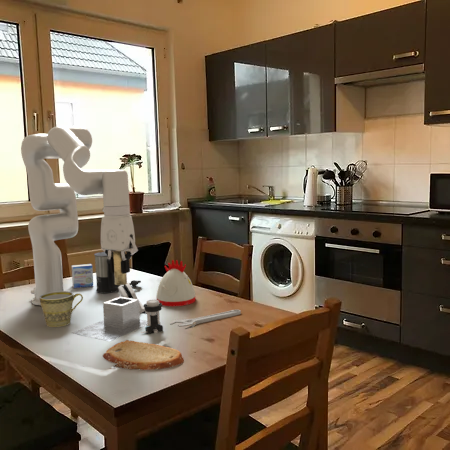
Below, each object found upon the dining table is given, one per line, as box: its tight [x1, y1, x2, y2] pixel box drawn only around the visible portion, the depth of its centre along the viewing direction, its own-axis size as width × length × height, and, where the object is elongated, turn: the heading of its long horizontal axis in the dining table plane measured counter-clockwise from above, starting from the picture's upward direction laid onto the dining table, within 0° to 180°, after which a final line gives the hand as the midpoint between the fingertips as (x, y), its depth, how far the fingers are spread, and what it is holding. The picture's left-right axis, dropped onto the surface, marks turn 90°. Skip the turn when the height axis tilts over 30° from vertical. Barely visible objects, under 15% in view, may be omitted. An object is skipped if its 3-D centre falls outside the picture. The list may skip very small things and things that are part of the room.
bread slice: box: [102, 339, 185, 371], centre depth 133 cm, size 18×18×4 cm
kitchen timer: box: [155, 259, 196, 307], centre depth 185 cm, size 14×14×15 cm
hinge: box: [118, 282, 147, 315], centre depth 176 cm, size 17×5×10 cm, turn 20°
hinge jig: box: [71, 296, 147, 342], centre depth 155 cm, size 15×19×8 cm
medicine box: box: [71, 263, 94, 289], centre depth 210 cm, size 8×4×9 cm, turn 111°
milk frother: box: [94, 251, 142, 294], centre depth 203 cm, size 14×16×15 cm
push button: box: [140, 299, 164, 335], centre depth 150 cm, size 7×5×10 cm
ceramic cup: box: [39, 290, 84, 328], centre depth 160 cm, size 13×10×10 cm
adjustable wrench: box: [169, 309, 242, 330], centre depth 163 cm, size 25×6×2 cm, turn 120°
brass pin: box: [113, 250, 128, 286], centre depth 156 cm, size 4×4×10 cm
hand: (120, 271), depth 156 cm, fingers closed on brass pin, 3 cm apart
